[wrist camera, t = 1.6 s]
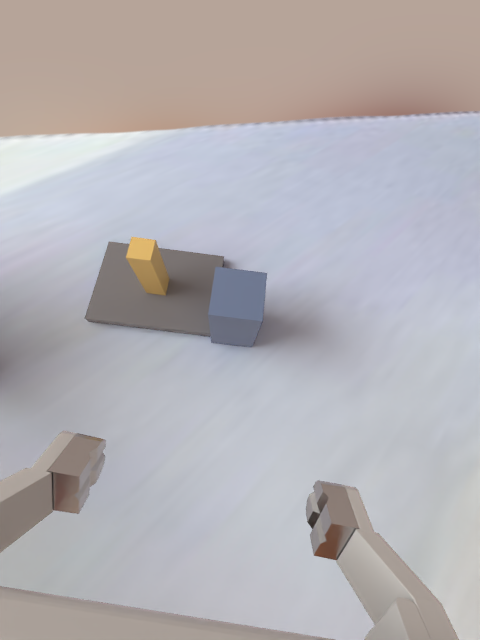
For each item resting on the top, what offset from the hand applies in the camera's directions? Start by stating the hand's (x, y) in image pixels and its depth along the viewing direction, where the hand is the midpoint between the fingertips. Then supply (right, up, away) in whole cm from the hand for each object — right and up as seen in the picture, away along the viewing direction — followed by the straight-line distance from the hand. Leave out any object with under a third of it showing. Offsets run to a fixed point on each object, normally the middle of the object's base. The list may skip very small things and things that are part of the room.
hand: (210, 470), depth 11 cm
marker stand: (-8, +9, +23) cm, 26 cm away
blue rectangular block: (0, +5, +22) cm, 23 cm away
